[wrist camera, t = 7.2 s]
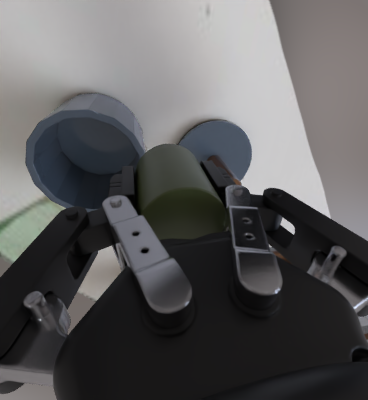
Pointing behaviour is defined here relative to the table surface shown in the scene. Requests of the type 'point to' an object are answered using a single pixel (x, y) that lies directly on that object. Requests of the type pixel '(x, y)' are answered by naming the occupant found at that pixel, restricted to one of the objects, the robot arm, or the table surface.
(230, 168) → the lid
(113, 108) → the canister
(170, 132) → the table surface
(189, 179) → the tin
